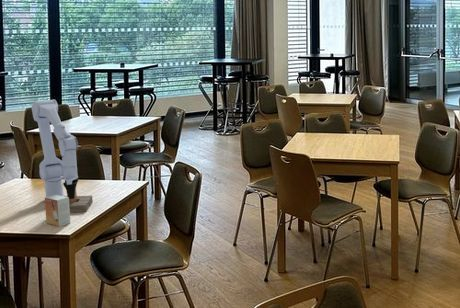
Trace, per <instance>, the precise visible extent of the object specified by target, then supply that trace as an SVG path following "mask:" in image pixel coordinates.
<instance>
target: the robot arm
mask: <svg viewBox="0 0 460 308" xmlns="http://www.w3.org/2000/svg"><path fill="white" fill-rule="evenodd" d="M31 112H32V118H33V120H34V121H35V122H37V125H38V131H39V137H40V142H41V147H42V152H43V156H44V157H43V160H41V162H40V163H39V170H38V171H39V177H40V179H41V180H42V181H44V190H45V197H49V196H53V195H59V196H67V194H68V197H69V199H74V197H75V188H76V189H77V185H78V182H79V176H78V165H77V164H78V163H77V150H78V148H79V142H78V139H77V137H76V136H74V135H73V134H71V132H70V131H69V128H68V127H67V126H66V124H63V123H62V121H61V118H60V116H59V113H58V112H59V105H58V102H57V100H56V99H54V98H53V99H49V100H48V99H47V100H38V101H37V100H35V101H33V102H32V104H31ZM51 125H52V127H53V133H52V130H51ZM52 134H54V136H55V137H56V139H57V141H58V149H59V151H60V156H61V159H60V158H58V157H57V156H56V152H55V151H56V150H55V146H54V140H53V135H52ZM62 180H64V182H63V181H62ZM64 188H65V190H66V194H64ZM43 202H44V203H45V199H43Z"/></svg>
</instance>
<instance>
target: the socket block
mask: <svg viewBox="0 0 460 308" xmlns="http://www.w3.org/2000/svg"><path fill="white" fill-rule="evenodd" d="M63 197H67V195H66V196H63ZM93 203H94V202H93V195H77V202H69V208H70V214H72V213H75V214H76V213H86V212H88V210H89V208H90V207H91V206H92V204H93Z"/></svg>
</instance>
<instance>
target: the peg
mask: <svg viewBox="0 0 460 308" xmlns="http://www.w3.org/2000/svg"><path fill="white" fill-rule="evenodd" d="M66 196H67V197H68V194H67V193H66ZM77 196H78V195H77V187H76V188H75V197H74V199H69V202H77Z"/></svg>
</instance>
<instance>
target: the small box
mask: <svg viewBox="0 0 460 308" xmlns="http://www.w3.org/2000/svg"><path fill="white" fill-rule="evenodd" d="M44 200H45V202H44V209H45V220H46V221H45V222H46V224H48V225H53V226H55V225H56V226H55V227H58V226H60V227H63V226H66V224H67V225H69V224H71V213H70V208H69V197H63V196H59V195H53V196H49V197H46V196H45V197H44Z"/></svg>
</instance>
